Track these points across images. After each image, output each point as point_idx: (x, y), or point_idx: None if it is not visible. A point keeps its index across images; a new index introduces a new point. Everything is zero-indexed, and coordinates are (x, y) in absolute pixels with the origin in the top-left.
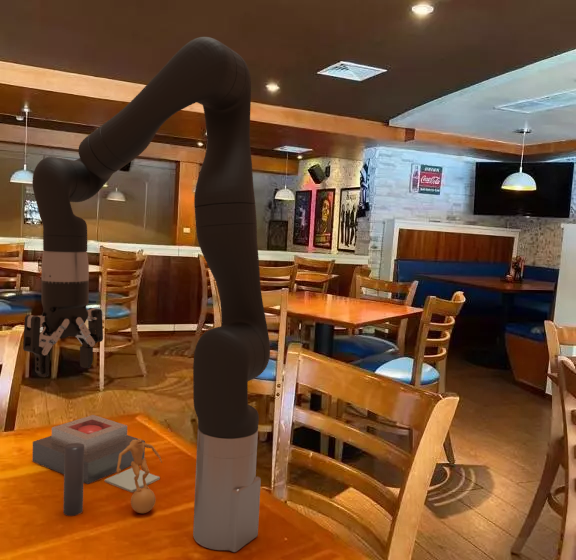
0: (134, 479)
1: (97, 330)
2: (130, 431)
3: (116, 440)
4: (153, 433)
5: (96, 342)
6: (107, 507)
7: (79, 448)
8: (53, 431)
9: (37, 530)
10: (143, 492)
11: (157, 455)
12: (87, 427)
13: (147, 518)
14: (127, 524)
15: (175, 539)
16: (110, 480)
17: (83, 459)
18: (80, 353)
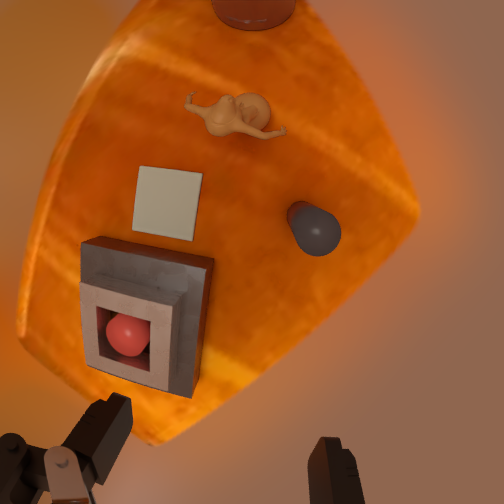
0: (253, 118)
1: (4, 484)
2: (49, 318)
3: (112, 281)
4: (35, 284)
5: (35, 448)
6: (265, 175)
7: (323, 214)
8: (170, 384)
9: (367, 223)
10: (255, 103)
11: (191, 97)
12: (122, 345)
13: None
14: (295, 115)
15: (295, 40)
16: (189, 230)
17: (307, 208)
18: (113, 461)
